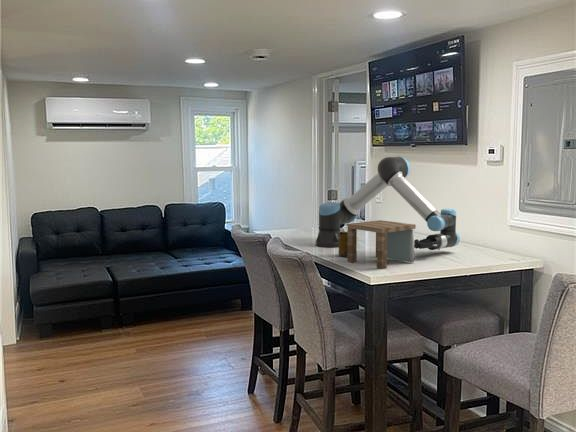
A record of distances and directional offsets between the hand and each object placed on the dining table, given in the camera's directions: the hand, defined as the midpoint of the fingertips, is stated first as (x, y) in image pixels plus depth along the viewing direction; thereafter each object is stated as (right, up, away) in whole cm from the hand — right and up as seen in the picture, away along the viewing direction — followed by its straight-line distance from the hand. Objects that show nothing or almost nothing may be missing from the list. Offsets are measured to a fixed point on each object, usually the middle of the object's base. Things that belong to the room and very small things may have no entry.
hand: (404, 246), depth 259 cm
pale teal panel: (-2, -6, +1) cm, 7 cm away
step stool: (-11, -7, -2) cm, 13 cm away
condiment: (-26, -6, +15) cm, 31 cm away
